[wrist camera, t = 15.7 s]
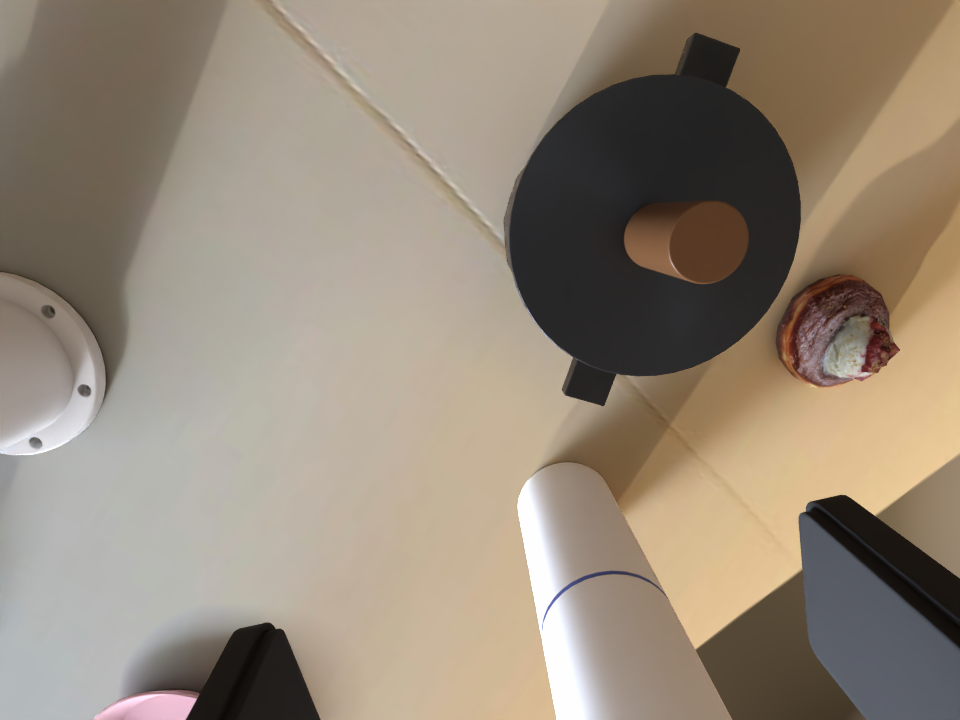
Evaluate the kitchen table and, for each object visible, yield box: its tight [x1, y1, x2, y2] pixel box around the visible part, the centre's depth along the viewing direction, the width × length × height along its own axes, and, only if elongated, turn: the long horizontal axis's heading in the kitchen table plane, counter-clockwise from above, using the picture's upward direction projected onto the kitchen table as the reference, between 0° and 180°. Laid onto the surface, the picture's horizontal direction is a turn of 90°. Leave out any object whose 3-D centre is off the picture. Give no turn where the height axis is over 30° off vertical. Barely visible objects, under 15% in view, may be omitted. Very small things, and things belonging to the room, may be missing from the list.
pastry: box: [776, 275, 900, 388], centre depth 35 cm, size 8×8×5 cm
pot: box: [504, 33, 740, 406], centre depth 31 cm, size 14×19×8 cm
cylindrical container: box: [518, 462, 732, 720], centre depth 29 cm, size 7×7×25 cm
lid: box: [508, 74, 801, 376], centre depth 24 cm, size 15×15×7 cm
